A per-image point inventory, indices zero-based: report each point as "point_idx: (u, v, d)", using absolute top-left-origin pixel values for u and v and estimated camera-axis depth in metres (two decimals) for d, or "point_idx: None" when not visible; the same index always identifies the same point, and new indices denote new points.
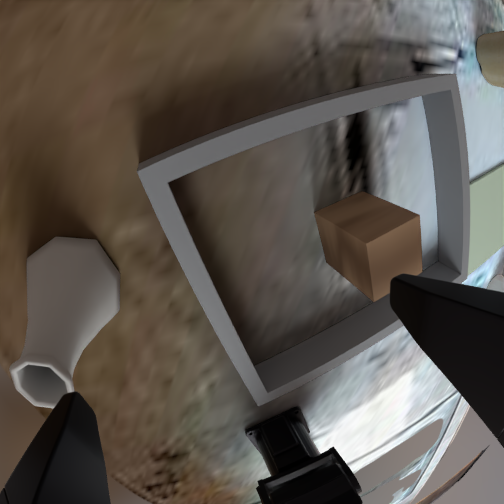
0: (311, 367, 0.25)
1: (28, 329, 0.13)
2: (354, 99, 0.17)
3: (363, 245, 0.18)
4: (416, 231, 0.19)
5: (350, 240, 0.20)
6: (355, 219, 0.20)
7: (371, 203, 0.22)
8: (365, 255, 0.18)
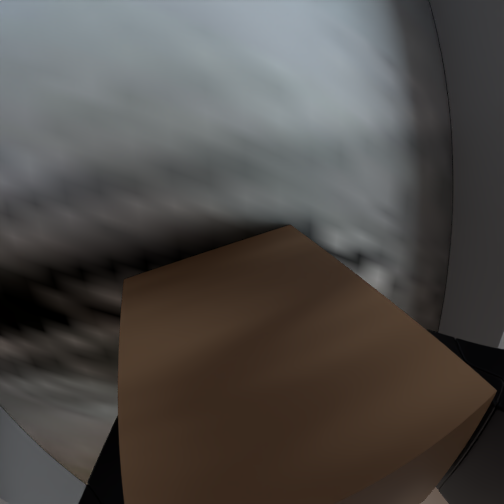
0: None
1: None
2: None
3: None
4: None
5: None
6: None
7: None
8: None
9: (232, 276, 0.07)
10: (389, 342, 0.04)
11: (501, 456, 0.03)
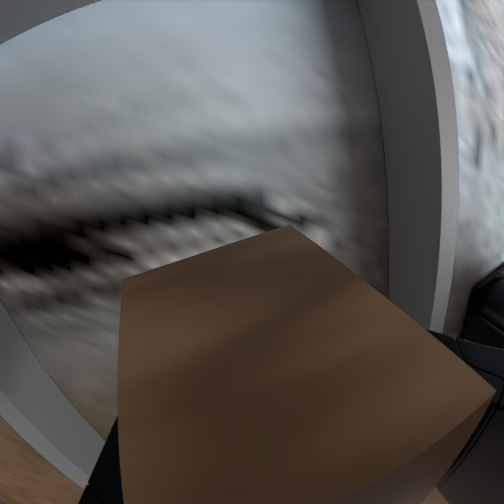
0: None
1: None
2: None
3: None
4: None
5: None
6: None
7: None
8: None
9: (232, 276, 0.07)
10: (388, 342, 0.04)
11: (501, 456, 0.03)
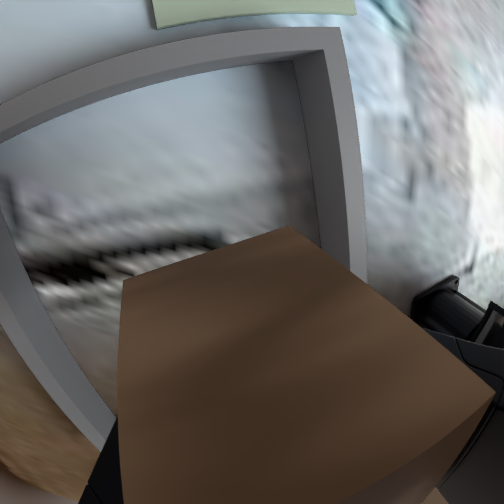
0: None
1: None
2: (19, 345, 0.13)
3: None
4: None
5: None
6: None
7: None
8: None
9: (232, 277, 0.07)
10: (388, 343, 0.04)
11: (501, 456, 0.03)
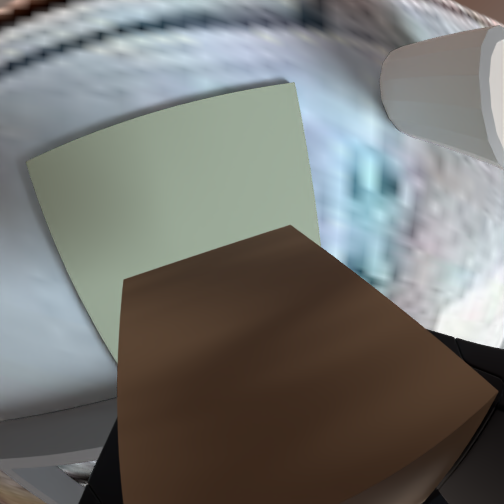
0: None
1: None
2: None
3: None
4: None
5: None
6: None
7: None
8: None
9: (232, 276, 0.07)
10: (390, 343, 0.04)
11: (501, 456, 0.03)
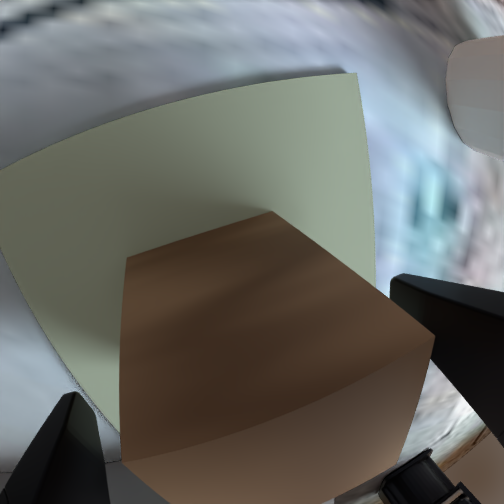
0: None
1: None
2: None
3: None
4: (207, 458, 0.03)
5: None
6: None
7: None
8: None
9: (219, 251, 0.08)
10: (343, 297, 0.05)
11: None
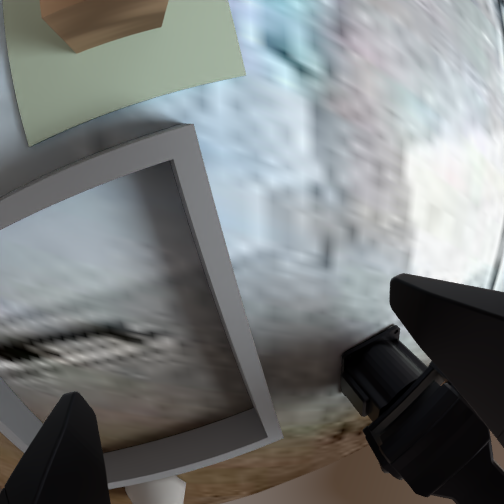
0: (256, 409, 0.21)
1: None
2: None
3: (50, 17, 0.07)
4: None
5: (68, 25, 0.08)
6: None
7: None
8: (69, 9, 0.07)
9: None
10: None
11: None
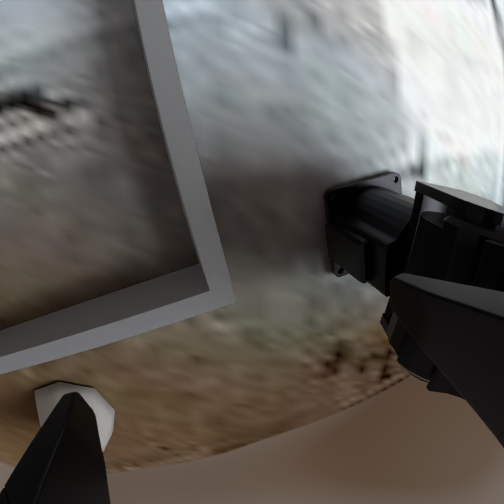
0: (186, 214, 0.15)
1: None
2: None
3: None
4: None
5: None
6: None
7: None
8: None
9: None
10: None
11: None
